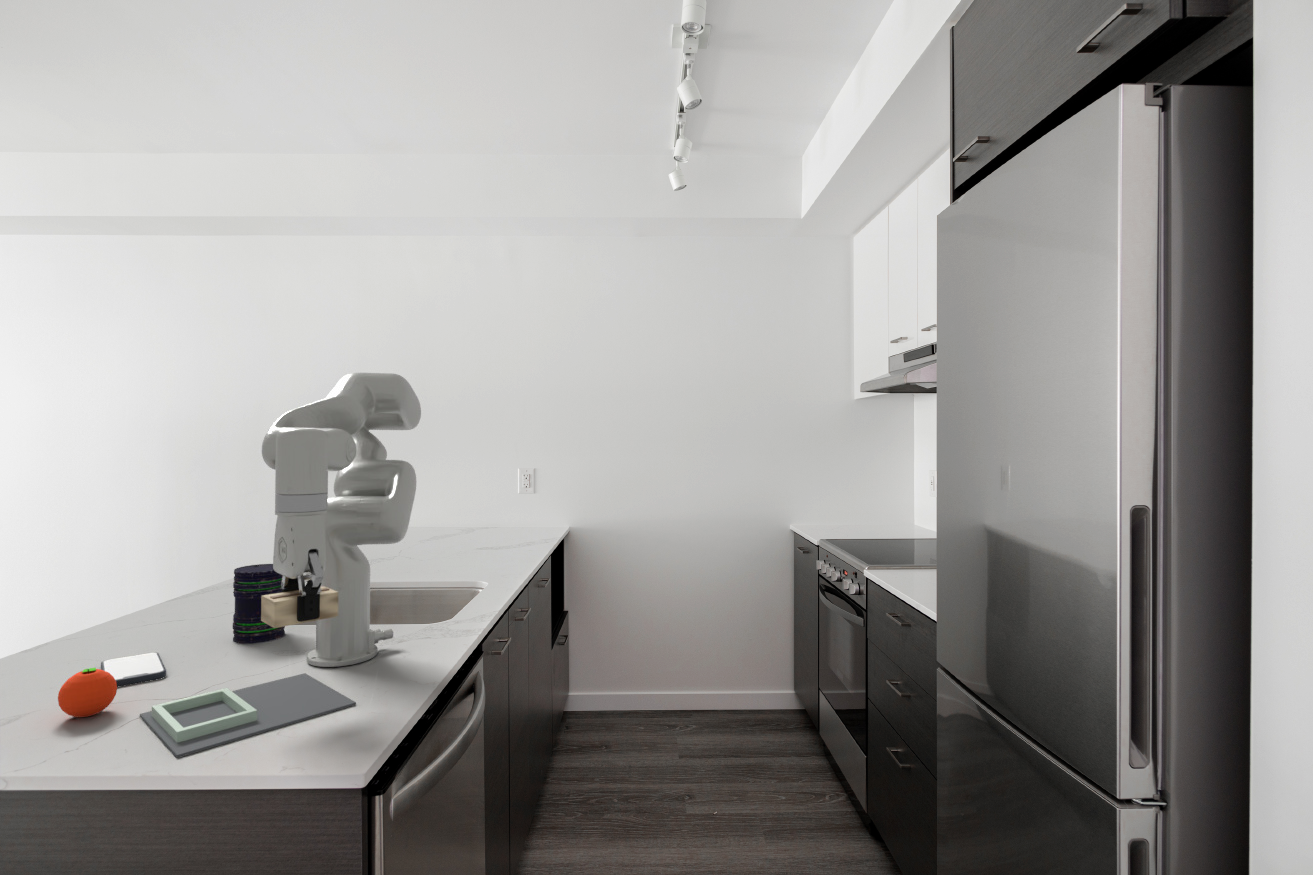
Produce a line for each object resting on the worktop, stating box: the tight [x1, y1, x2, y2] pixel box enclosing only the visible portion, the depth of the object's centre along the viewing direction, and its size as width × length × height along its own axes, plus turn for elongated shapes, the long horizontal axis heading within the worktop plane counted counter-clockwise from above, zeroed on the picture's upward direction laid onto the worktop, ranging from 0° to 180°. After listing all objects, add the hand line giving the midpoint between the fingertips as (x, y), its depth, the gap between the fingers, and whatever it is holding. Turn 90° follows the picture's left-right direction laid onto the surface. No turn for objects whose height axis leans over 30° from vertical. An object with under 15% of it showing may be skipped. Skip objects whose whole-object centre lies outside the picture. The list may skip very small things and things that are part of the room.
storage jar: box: [232, 563, 286, 645], centre depth 142 cm, size 10×10×15 cm
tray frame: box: [151, 687, 257, 743], centre depth 99 cm, size 10×14×2 cm
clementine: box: [57, 667, 118, 718], centre depth 101 cm, size 8×7×7 cm
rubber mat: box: [139, 672, 357, 759], centre depth 103 cm, size 24×20×1 cm
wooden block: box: [261, 586, 338, 628], centre depth 106 cm, size 10×6×4 cm, turn 138°
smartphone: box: [100, 652, 167, 688], centre depth 120 cm, size 9×2×16 cm
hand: (300, 614), depth 106 cm, fingers closed on wooden block, 6 cm apart
